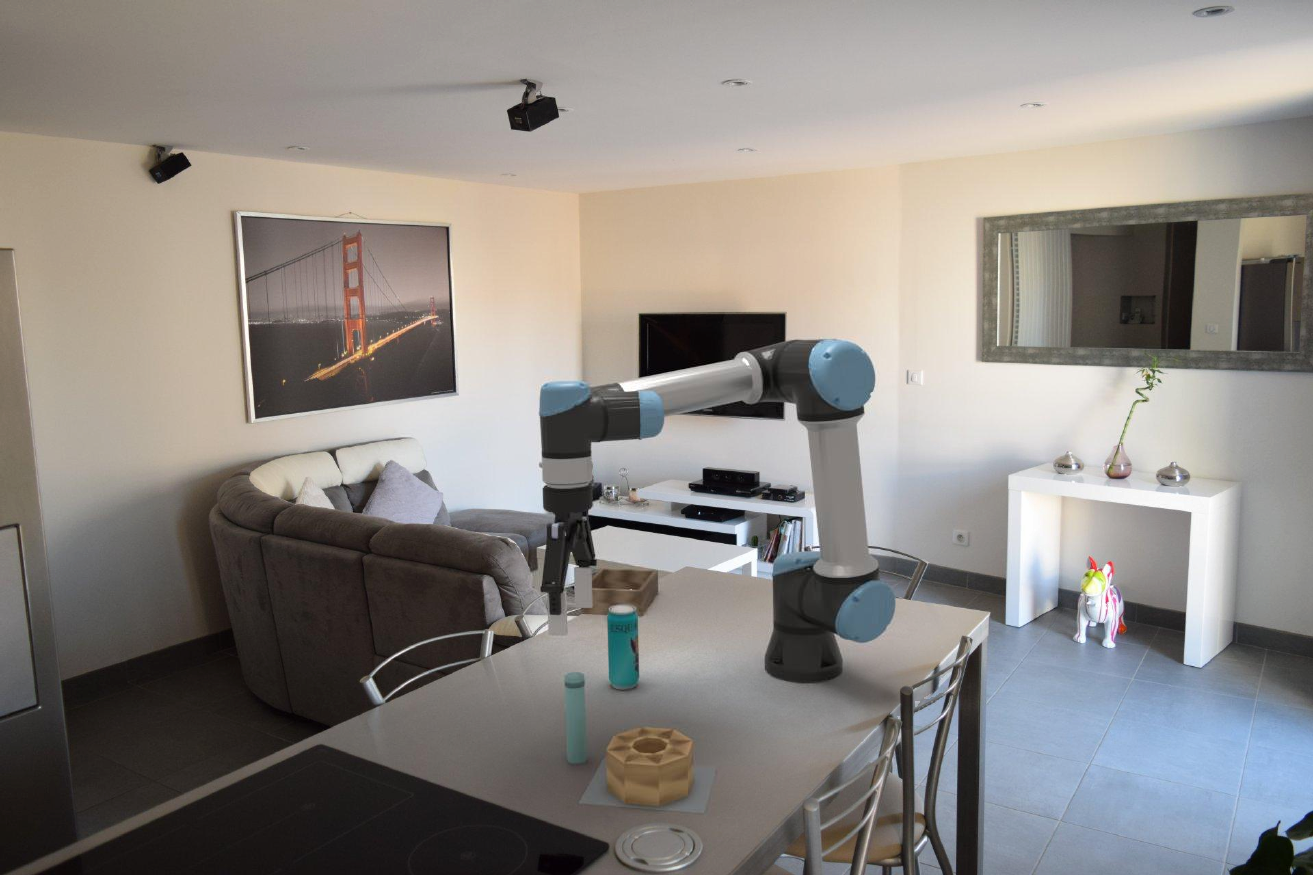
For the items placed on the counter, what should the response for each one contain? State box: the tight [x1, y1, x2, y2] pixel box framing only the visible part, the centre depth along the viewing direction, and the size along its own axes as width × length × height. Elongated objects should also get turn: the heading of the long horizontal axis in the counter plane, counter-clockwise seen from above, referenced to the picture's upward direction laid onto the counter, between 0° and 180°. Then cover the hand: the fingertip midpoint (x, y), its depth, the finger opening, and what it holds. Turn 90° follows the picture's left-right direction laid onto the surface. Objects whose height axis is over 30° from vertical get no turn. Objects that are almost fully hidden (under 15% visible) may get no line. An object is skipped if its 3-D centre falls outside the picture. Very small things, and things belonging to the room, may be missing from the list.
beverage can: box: [606, 605, 640, 691], centre depth 176 cm, size 6×6×15 cm
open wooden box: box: [580, 568, 659, 617], centre depth 229 cm, size 15×19×6 cm
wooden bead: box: [605, 726, 694, 806], centre depth 137 cm, size 12×12×6 cm
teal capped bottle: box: [564, 671, 588, 765], centre depth 145 cm, size 3×3×14 cm
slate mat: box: [578, 757, 719, 815], centre depth 137 cm, size 18×14×1 cm
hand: (571, 620), depth 143 cm, fingers open, 13 cm apart
